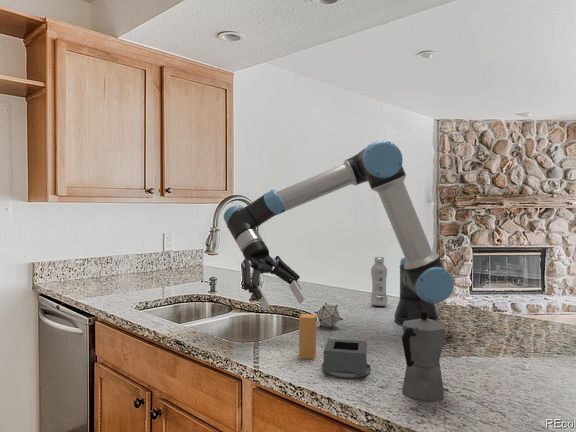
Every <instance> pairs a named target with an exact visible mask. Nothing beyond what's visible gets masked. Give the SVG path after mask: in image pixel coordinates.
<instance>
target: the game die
mask: <svg viewBox="0 0 576 432" xmlns="http://www.w3.org/2000/svg"><path fill="white" fill-rule="evenodd" d="M324 304H325V305H322V307H321V308H320V309H319V310H317V311H314V314H316V316H317V317H318V322H319V328H321V327H322V326H324V327H327V328H330V330H332V331H333V327H334V326H335V325H336V324H337V323H338V322H340V321H344V319H343V317H341V315H340V313H339V311H338V304H336V305H331V304H328V303H327V302H326V301H325V303H324Z"/></svg>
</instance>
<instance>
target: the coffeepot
mask: <svg viewBox="0 0 576 432" xmlns="http://www.w3.org/2000/svg"><path fill="white" fill-rule="evenodd" d="M420 314H421V319H416V320H408V321H404V323H403V325H402V331H403V333H402V336H401V342H402V343H401V344H402V347H403V353H404V358H405V363H406V367H405V374H404V379H403V383H402V390H401V392H402V393H403V394H404V395H405V396H407V397H408V398H411V399H414V400H417V401H422V402H436V401H440V400H442V399H444V397H445V395H444V394H445V390H444V389H445V388H444V383H443V382H444V381H443V375H442V369H441V365H440V358H441V355H442V350H443V349H442V348H443V344H444V343H443V342H444V336H445V331H446V324H444V323H442V322H441V323H440V320H439V321H435V320H428V319H427V314H428V312H426V311H421V312H420Z"/></svg>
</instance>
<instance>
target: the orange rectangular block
mask: <svg viewBox="0 0 576 432" xmlns="http://www.w3.org/2000/svg"><path fill="white" fill-rule="evenodd" d="M298 319H299V320H298V325H299V327H298V329H299V330H298V334H299V335H298V336H299V337H298V359H307V358H308V359H309V360H310V359H311V360H315V357H316V354H317V313H314V314H313V313H301V314H300V316H299V317H298Z"/></svg>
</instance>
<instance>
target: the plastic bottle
mask: <svg viewBox="0 0 576 432" xmlns="http://www.w3.org/2000/svg"><path fill="white" fill-rule="evenodd" d="M373 262H374V264H373V265H372V267H371V268H370V273H371V274H370V275H371V282H372V284H371V285H372V286H371V287H372V288H371V296H370V304H372V305H371V306H374V307H378V308H379V307H386V306H387V304H388V295H387V288H386V287H387V277H388V276H387V275H388V268H387V267H386V265H385V264H384V263H385V257H383V256H375V257H374V261H373Z"/></svg>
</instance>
